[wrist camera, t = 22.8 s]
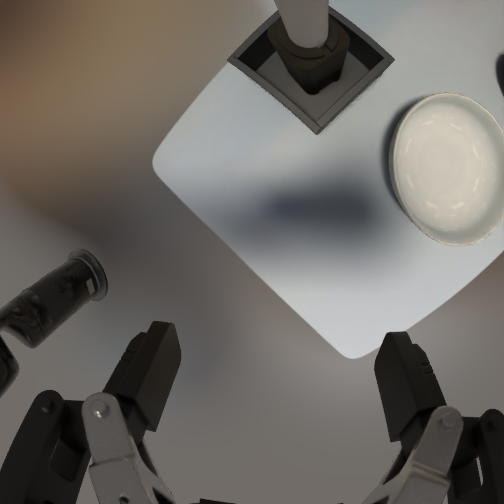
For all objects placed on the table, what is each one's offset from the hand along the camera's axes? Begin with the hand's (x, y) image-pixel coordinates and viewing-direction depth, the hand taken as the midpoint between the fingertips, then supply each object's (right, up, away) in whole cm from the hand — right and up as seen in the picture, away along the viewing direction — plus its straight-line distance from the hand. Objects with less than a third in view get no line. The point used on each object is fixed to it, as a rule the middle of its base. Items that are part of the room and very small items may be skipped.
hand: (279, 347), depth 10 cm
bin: (+6, +25, +17) cm, 31 cm away
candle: (+6, +25, +17) cm, 30 cm away
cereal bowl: (+23, +15, +18) cm, 32 cm away
